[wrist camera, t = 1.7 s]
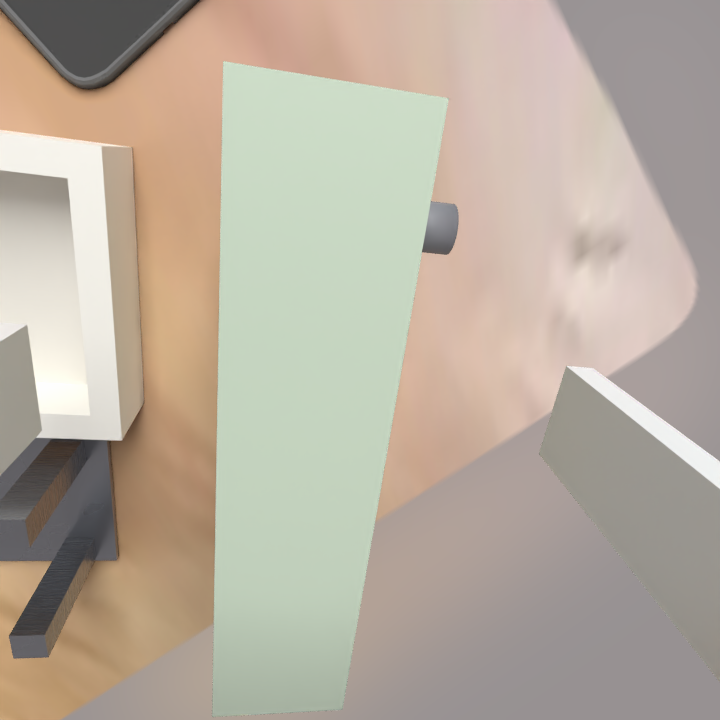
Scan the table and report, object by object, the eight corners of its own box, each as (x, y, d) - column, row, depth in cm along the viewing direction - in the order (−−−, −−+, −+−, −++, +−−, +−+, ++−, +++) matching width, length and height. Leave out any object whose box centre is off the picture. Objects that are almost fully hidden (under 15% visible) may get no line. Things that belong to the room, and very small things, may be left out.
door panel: (342, 439, 23) (391, 706, 12) (251, 435, 22) (212, 716, 11) (382, 135, 18) (529, 111, 7) (266, 118, 17) (223, 60, 6)
